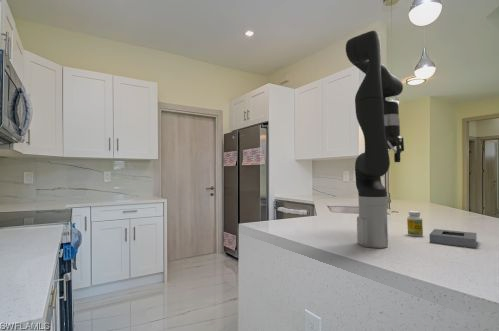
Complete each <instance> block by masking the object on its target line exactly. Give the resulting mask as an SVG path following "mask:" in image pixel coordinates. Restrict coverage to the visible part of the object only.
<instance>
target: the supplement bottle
mask: <svg viewBox="0 0 499 331" xmlns="http://www.w3.org/2000/svg"><path fill="white" fill-rule="evenodd" d="M408 215H409V216H407V219H406V220H407V221H406V222H407V224H406V225H407V235H409V236H411V237H423V234H424V231H423V230H424V229H423V218H422V217H421V212H420V211H416V210H409V211H408Z"/></svg>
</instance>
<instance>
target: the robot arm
mask: <svg viewBox="0 0 499 331" xmlns="http://www.w3.org/2000/svg"><path fill="white" fill-rule="evenodd" d="M345 53H346V58H347V59H348V61H349V62H350V63H351V64H352V65H354V67H356V68H357V69H358V70H360V71H361V72H362V73H364V74H365V76H364V78H363V80H362V82H361V83H360V85H359V87H358V89H357V91H356V93H355V96H354V105H355V106H354V107H355V116H356V120H357V122H358V126H359V127H360V129H361V131H362V134H363V139H364V152H362V153H360V154H359V155H358V156H357V158H356V159H355V164H354V173H355V177H354V178H355V185H356V189H357V192H358V216H356V241H357V243H358V244H359V245H360V246H362V247H363V248H374V249H378V248H379V249H382V248H388V246H389V236H388V235H389V234H388V230H389V229H388V204H387V203H388V199H387V196H388V194H387V188H386V187H385V186H384V185H383V183H382V179H381V177H383V176H384V175H386V174H387V173H388V172H389V170H390V164H391V163H390V162H391V161H390V153H389V152H390V151H391V150H392V151H393V153H394V154H393V158H394V159H393V160H394V163H401V154H402V152H404V151H405V145H404V144H405V143H404V142H405V141H404V137H403V136H401V126H400V115H399V114H400V111H399V103H398V102H397V101H395V100H394V101H392V100H387V98H392V97H397V96H399V95H400V94H402V93H403V89H404V86H403V84H404V83H402V80H400V79H399V78H398V77H397V76H395V75H394V74H392V73H391V72H390V71H389V69H388V67H387V66H386V65H385V64H383V63H382V43H381V37H380V34H379V32H378V31H377V30H370V31H366V32H364V33H362V34H359V35H357V36H354V37H352V38H350V39H348V40H347V42H346V44H345Z"/></svg>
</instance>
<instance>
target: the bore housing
mask: <svg viewBox="0 0 499 331" xmlns="http://www.w3.org/2000/svg"><path fill="white" fill-rule="evenodd" d="M477 238H478V237H477V232H469V231H458V230H448V229H441V228H440V229H439V228H434V229H433V230H432V231H431V232H430V233H429V243H431V244H438V245H446V246H454V247H455V246H456V247H462V248H471V249H477V242H478V240H477Z"/></svg>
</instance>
